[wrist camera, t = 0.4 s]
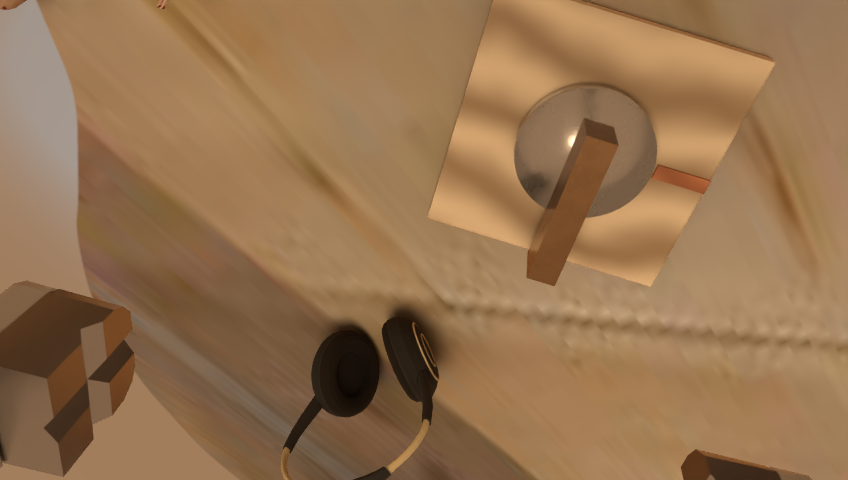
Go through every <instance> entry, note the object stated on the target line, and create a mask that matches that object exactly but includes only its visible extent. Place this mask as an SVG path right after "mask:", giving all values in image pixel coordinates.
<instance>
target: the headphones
mask: <svg viewBox="0 0 848 480" xmlns="http://www.w3.org/2000/svg"><path fill="white" fill-rule="evenodd" d="M382 336H383V341H384V345H385V349H386V352H387V355H388V358H389V360H390V363H391V365H392V368H393V370H394V372H395V374H396V376H397V379H398V380H399V382H400V384H401V386H402V387H403V389H404V391H405V392H406V394H407V395H408V396H409V397H410V398H411V399H412V400H414V401H416V402H419V401H421V402H422V403H423V410H422V423H423V424H422V427H421V429H420V431H419V433H418V435H417V436H416V438H415V439H414V440H413V442H412V443H411V444H410V446H409V447H408V448H407V449H406V450H405V451H404V452H403V453H402V454H401V455H400V456H399V457H398V458H397V459H395V460H394V461H393V462H392V463H390V464H389V465H388V466H386V467H382V468H380V469H379V470H377V471H375V472H372V473H370V474H368V475H365V476H363V477H360V478H357V479H354V480H386V479H387V478H388V477H389V476H391V473H392V472H393V471H394V470H395V469H396V468H397V467H399V466H400V465H401V464H402V463H403V462H404V461H405V460H406V459H408V457H409V456H410V455H411V454H412V453H413V452H414V451H415V450H416V448H417V447H418V446H419V444H420V443H421V441H422V440H423V438H424V436H425V435H426V433H427V430H428V428H429V426H430V425H431V418H432V410H433V403H432V396H433V394H434V392H435V390H436V387H437V383H438V380H439V374H438V369H437V365H436V362H435V359H434V356H433V354H432V351H431V349H430V347H429V344H428V342H427V340H426V339H425V337H424V335H423V333H422V332H421V330H420V329H419V327H418V326H417V325H416V323H415V322H411V321H409V320H407V319H405V318H402V317H399V316H398V317H394V318H391V319H389V320H387V322H386V323H384V325H383V328H382ZM311 378H312V386H313V390H314V393H315V396H314V398H313V399H312V401H311V402H310V403H309V405H308V406H307V408H306V409H305V411H304V412H303V413H302V415H301V416H300V418H299V420H298V421H297V423H296V424H295V426H294V428H293V429H292V431H291V433H290V435H289V437H288V439H287V441H286V443H285V445H284V447H283V449H284V450H283V453H282V458H281V470H282V474H283V476H284V478H285V480H291V478H290V477H289V474H288V471H287V458H288V456H289V453H291V452H292V450H293V448H294V446H295V445H296V443H297V441H298V439H299V437H300V436H301V435H302V433H303V432H304V431H305V429H306V428H307V426H308V425H309V424H310V423H311V421H312V420H313V419H314V418H315V416H316V415H317V414H318V413H319V411H320V410H321V409H322V407H323V409H324V410H326V411H327V412H328V413H330V414H332V415H335V416H339V417H351V416H354V415H356V414H358V413H360V412H362V411H363V410H364V409H365V408H366V407H367V406H368V405H369V404H370V402H371V400H372V399H373V397H374V394H375V392H376V389H377V385H378V380H379V364H378V359H377V355H376V353H375V350H374V348H373V346H372V345H371V343H370V342H369V341H368V339H367V338H365V337H364V336H363V335H361V334H359V333H357V332H354V331H340V332H337V333H334V334H332V335H330V336H329V337H327V338H326V339H325V340H324V342H323V343H322V344H321V346H320V347H319V349H318V351H317V353H316V355H315V357H314V361H313V365H312V372H311Z"/></svg>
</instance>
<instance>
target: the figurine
mask: <svg viewBox="0 0 848 480" xmlns="http://www.w3.org/2000/svg"><path fill="white" fill-rule="evenodd" d="M25 1H26V0H0V9H3V10H9V9H13V8H16V7H17V6H19V5H20V4H22V3H23V2H25ZM168 1H169V0H159V3H158V5H157V6H156V7H157V8H158V7H161V8H160V10H161V9H164V8H165V6H166V4H167V2H168Z"/></svg>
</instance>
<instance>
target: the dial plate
mask: <svg viewBox="0 0 848 480" xmlns="http://www.w3.org/2000/svg"><path fill="white" fill-rule="evenodd" d="M774 65H775V62H774V61H773V60H772V59H770V58H769V57H766V56H763V55H759V54H756V53H753V52H750V51H746V50H743V49H740V48H736V47H733V46H730V45H727V44H723V43H720V42H717V41H714V40H710V39H707V38H704V37H701V36H697V35H694V34H691V33H687V32H684V31H681V30H678V29H674V28H671V27H668V26H665V25H661V24H658V23H655V22H652V21H648V20H645V19H642V18H638V17H635V16H632V15H629V14H625V13H622V12H619V11H616V10H612V9H609V8H606V7H602V6H599V5H596V4H593V3H589V2H586V1H583V0H493V2H492V6H491V9H490V12H489V16H488V19H487V22H486V26H485V29H484V32H483V35H482V39H481V42H480V45H479V49H478V52H477V55H476V59H475V62H474V65H473V69H472V72H471V75H470V79H469V82H468V85H467V89H466V92H465V95H464V98H463V102H462V105H461V108H460V112H459V115H458V118H457V122H456V125H455V128H454V132H453V135H452V138H451V142H450V145H449V148H448V151H447V155H446V158H445V161H444V165H443V168H442V171H441V175H440V178H439V181H438V185H437V188H436V191H435V195H434V198H433V201H432V204H431V208H430V211H429V214H428V218H429V219H433V220H436V221H439V222H442V223H446V224H449V225H452V226H455V227H459V228H462V229H465V230H468V231H472V232H475V233H478V234H481V235H485V236H488V237H491V238H494V239H498V240H501V241H504V242H507V243H511V244H514V245H517V246H520V247H524V248H527V249H529V248H530V246H531V243H532V241H533V238H534V236H535V234H536V231H537V229H538V226H539V224H540V221H541V219H542V217H543V214H544V212H545V208H543V207H542V206H540V205H539V204H537V203H536V202H535V201H534V200H533V199H532V198H531V197H530V196H529V195H528V194H527V193H526V191H525V190H524V188H523V187H522V185H521V183H520V181H519V179H518V177H517V173H516V170H515V163H514V150H515V142H516V136H517V133H518V130H519V127H520V125H521V123H522V121H523V119H524V118H525V116H526V115H527V113H528V112H529V111H530V110H531V108H532V107H533V106H534V105H535V104H536V103H537V102H538V101H540V100H541V99H542V98H544V97H545V96H547V95H548V94H550V93H552V92H554V91H556V90H558V89H561V88H563V87H567V86H570V85H575V84H582V83H594V84H602V85H607V86H611V87H613V88H616V89H619V90H621V91H622V92H624V93H626V94H628V95H629V96H630V97H632V98H633V99H634V100H635V101H636V102H637V103H638V104H639V105H640V106H641V107H642V108H643V110H644V111H645V112H646V114H647V116H648V118H649V120H650V122H651V124H652V127H653V130H654V133H655V136H656V141H657V158H656V163H655V167H654V170H653V173H652V175H651V177H650V179H649V181H648V183H647V184H646V186H645V187H644V188H643V190H642V191H641V192H640V193H639V194H638V195H637V196H636V197H635V198H634V199H633V200H631V201H630V202H629V203H628V204H626V205H625V206H623V207H621V208H620V209H618V210H615V211H613V212H611V213H608V214H605V215H602V216H597V217H590V218H585V221H584V223H583V225H582V227H581V229H580V231H579V234H578V236H577V238H576V240H575V242H574V245H573V247H572V249H571V251H570V253H569V256H568V258H567V260H566V261H569V262H572V263H576V264H579V265H582V266H585V267H588V268H592V269H595V270H598V271H601V272H605V273H608V274H611V275H614V276H618V277H621V278H624V279H627V280H631V281H634V282H637V283H640V284H644V285H647V286H650V287H651V285H652V283H653V281H654V280H655V278H656V276H657V274H658V272H659V271H660V269H661V267H662V265H663V264H664V262H665V260H666V258H667V256H668V255H669V253H670V251H671V249H672V247H673V246H674V244H675V242H676V240H677V238H678V237H679V235H680V233H681V231H682V229H683V228H684V226H685V224H686V222H687V221H688V219H689V217H690V215H691V213H692V212H693V210H694V208H695V206H696V204H697V203H698V201H699V199H700V197H701V195H702V194H704V193H705V191H706V189H707V187H708V185H709V184H710V182H711V181H710V179H711V178H712V176H713V174H714V172H715V170H716V169H717V167H718V165H719V163H720V161H721V160H722V158H723V156H724V154H725V153H726V151H727V149H728V147H729V145H730V144H731V142H732V140H733V138H734V136H735V135H736V133H737V131H738V129H739V127H740V126H741V124H742V122H743V120H744V119H745V117H746V115H747V113H748V111H749V110H750V108H751V106H752V104H753V102H754V101H755V99H756V97H757V95H758V93H759V92H760V90H761V88H762V86H763V85H764V83H765V81H766V79H767V77H768V76H769V74H770V72H771V70H772V68H773V67H774Z"/></svg>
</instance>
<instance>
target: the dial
mask: <svg viewBox="0 0 848 480" xmlns="http://www.w3.org/2000/svg"><path fill="white" fill-rule="evenodd" d="M656 158H657V141H656V136H655V133H654V130H653V127H652V124H651V122H650V120H649V118H648V116H647V114H646V112H645V111H644V110H643V108H642V107H641V106H640V105H639V104H638V103H637V102H636V101H635V100H634V99H633V98H632V97H630V96H629V95H628V94H626V93H624V92H622V91H621V90H619V89H616V88H613V87H611V86H607V85H602V84H594V83H582V84H575V85H570V86H567V87H563V88H561V89H558V90H556V91H554V92H552V93H550V94H548V95H547V96H545V97H544V98H542V99H541V100H540V101H538V102H537V103H536V104H535V105H534V106H533V107H532V108H531V110H530V111H529V112H528V113H527V115H526V116H525V118H524V119H523V121H522V123H521V125H520V127H519V130H518V133H517V136H516V142H515V150H514V163H515V170H516V173H517V177H518V179H519V181H520V183H521V185H522V187H523V188H524V190H525V191H526V193H527V194H528V195H529V196H530V197H531V198H532V199H533V200H534V201H535V202H536V203H537V204H539V205H540V206H542V207H543V208H545V212H544V214H543V217H542V219H541V221H540V224H539V226H538V229H537V231H536V234H535V236H534V238H533V241H532V243H531V246H530V248H529V250H528V256H527V278H529V279H533V280H536V281H539V282H542V283H546V284H549V285H552V286H555V284H556V282H557V280H558V277H559V275H560V273H561V271H562V269H563V266H564V264H565V262H566V260H567V258H568V256H569V253H570V251H571V249H572V247H573V245H574V242H575V240H576V238H577V236H578V234H579V231H580V229H581V227H582V225H583V223H584V221H585V218H590V217H597V216H602V215H605V214H608V213H611V212H613V211H615V210H618V209H620V208H621V207H623V206H625V205H626V204H628V203H629V202H630V201H631V200H633V199H634V198H635V197H636V196H637V195H638V194H639V193H640V192H641V191H642V190H643V188H644V187H645V186H646V184H647V183H648V181H649V179H650V177H651V175H652V173H653V170H654V167H655V163H656Z"/></svg>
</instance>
